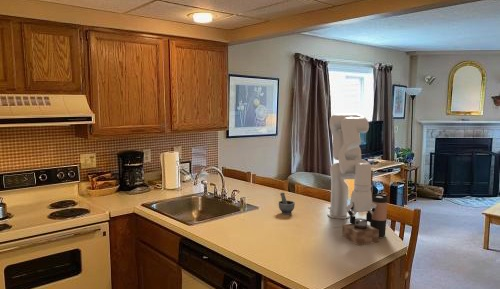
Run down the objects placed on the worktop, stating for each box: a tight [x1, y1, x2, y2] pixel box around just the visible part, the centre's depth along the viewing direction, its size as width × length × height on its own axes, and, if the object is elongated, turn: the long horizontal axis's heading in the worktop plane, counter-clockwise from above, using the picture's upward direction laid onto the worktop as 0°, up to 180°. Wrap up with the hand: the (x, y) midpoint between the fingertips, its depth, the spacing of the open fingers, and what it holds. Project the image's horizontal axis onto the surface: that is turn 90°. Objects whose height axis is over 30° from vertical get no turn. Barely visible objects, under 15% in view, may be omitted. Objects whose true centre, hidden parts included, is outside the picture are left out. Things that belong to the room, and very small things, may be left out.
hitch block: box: [341, 223, 380, 246], centre depth 175 cm, size 12×12×6 cm
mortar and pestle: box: [278, 192, 296, 216], centre depth 216 cm, size 11×9×12 cm
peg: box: [354, 217, 368, 229], centre depth 175 cm, size 6×6×9 cm
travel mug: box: [369, 193, 388, 238], centre depth 180 cm, size 8×8×20 cm
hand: (360, 222), depth 175 cm, fingers open, 9 cm apart
